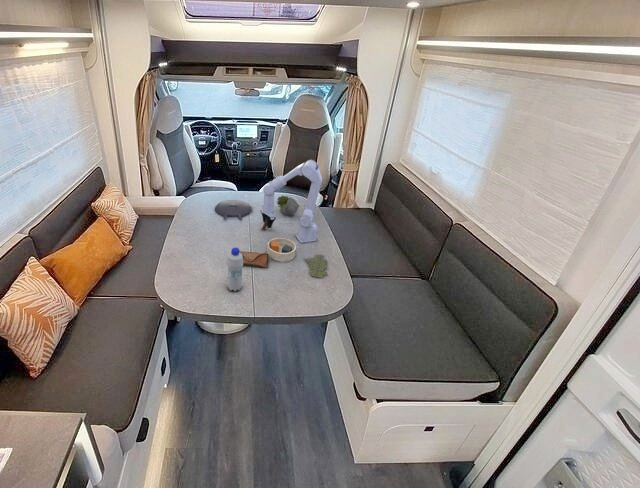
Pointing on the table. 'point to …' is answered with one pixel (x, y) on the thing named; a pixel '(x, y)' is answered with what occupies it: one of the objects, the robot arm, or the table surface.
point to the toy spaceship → (233, 208)
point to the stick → (265, 225)
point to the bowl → (279, 255)
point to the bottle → (235, 269)
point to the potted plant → (287, 205)
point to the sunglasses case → (255, 259)
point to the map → (317, 266)
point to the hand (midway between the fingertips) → (267, 224)
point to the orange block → (275, 246)
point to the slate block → (286, 249)
